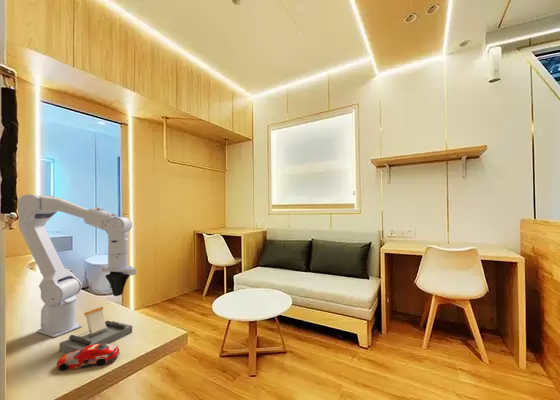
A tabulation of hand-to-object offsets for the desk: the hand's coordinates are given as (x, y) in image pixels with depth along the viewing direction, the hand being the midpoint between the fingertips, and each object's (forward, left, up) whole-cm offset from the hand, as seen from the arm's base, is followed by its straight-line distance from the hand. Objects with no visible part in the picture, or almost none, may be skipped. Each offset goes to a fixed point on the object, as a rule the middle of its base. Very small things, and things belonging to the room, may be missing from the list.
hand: (117, 295), depth 85 cm
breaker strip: (+3, -8, -10) cm, 13 cm away
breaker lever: (+3, -8, -8) cm, 12 cm away
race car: (+12, -16, -11) cm, 22 cm away
